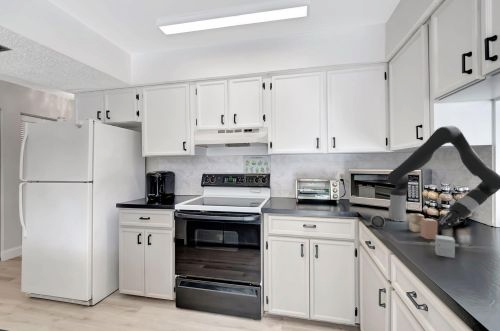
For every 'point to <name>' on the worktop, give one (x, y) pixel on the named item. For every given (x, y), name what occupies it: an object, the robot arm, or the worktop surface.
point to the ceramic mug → (376, 221)
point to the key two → (428, 228)
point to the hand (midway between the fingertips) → (435, 230)
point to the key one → (415, 222)
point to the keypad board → (434, 243)
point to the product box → (445, 246)
